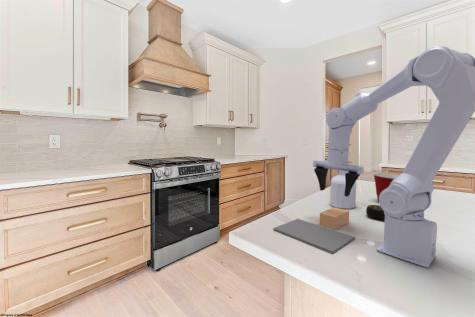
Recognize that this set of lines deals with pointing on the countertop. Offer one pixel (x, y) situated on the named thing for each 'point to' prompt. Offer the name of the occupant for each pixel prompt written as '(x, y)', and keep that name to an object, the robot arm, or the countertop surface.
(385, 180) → the plastic cup
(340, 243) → the mat
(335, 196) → the soap bottle
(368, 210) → the tape measure
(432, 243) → the robot arm
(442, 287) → the countertop surface
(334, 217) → the card case
